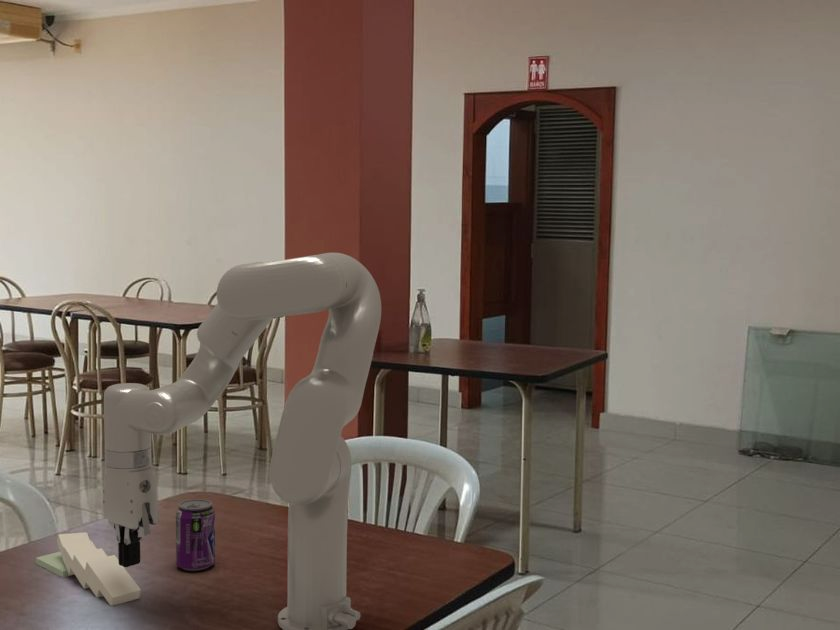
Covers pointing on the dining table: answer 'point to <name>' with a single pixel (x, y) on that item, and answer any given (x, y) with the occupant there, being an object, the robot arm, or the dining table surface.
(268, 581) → the dining table surface
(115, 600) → the tile
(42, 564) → the tile
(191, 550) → the beverage can
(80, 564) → the tile
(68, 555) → the tile
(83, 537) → the tile
